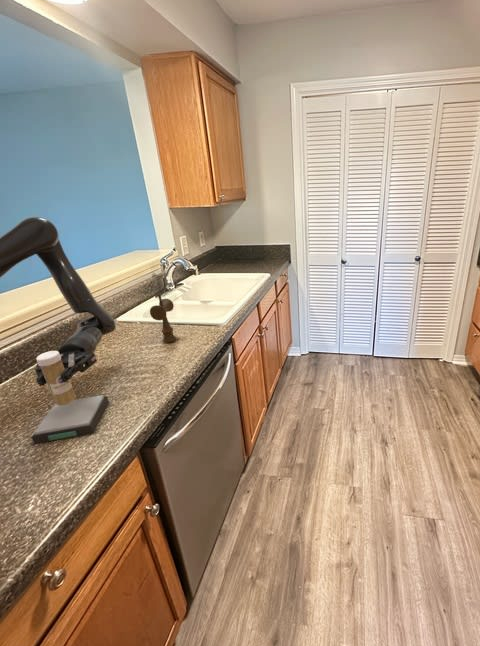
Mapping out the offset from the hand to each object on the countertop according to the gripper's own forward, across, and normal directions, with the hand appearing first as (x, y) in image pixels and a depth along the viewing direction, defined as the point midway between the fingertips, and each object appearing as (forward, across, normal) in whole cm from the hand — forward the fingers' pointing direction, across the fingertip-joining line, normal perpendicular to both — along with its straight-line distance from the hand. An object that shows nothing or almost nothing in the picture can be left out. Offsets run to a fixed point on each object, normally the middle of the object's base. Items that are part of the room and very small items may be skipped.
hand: (51, 380), depth 77 cm
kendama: (-46, +18, +15) cm, 52 cm away
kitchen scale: (-2, 0, +14) cm, 15 cm away
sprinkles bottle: (-2, 0, +8) cm, 8 cm away
